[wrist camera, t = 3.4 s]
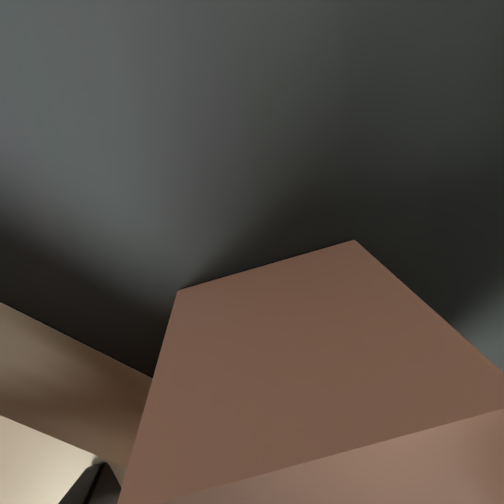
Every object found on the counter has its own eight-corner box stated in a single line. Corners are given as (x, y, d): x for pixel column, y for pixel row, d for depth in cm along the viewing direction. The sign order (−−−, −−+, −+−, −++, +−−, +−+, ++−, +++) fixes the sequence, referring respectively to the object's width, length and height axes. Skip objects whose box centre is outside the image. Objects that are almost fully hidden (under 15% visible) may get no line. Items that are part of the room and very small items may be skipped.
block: (354, 239, 10) (535, 399, 4) (381, 383, 11) (534, 636, 6) (177, 290, 10) (114, 514, 4) (230, 425, 12) (236, 712, 6)
